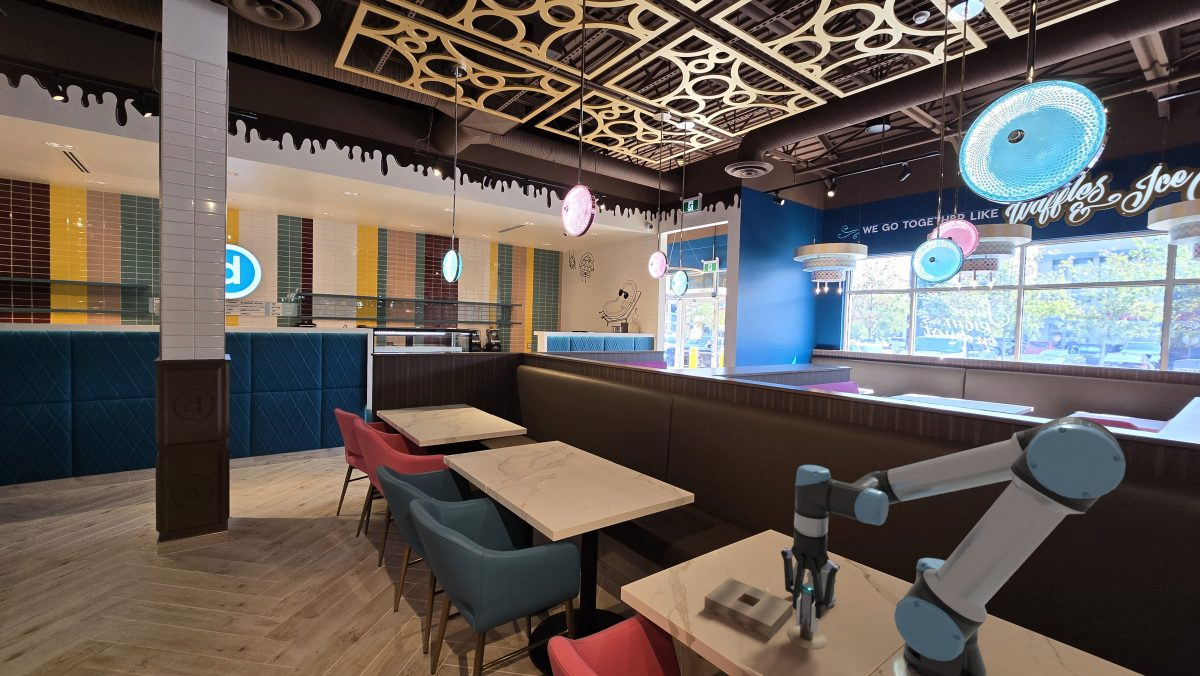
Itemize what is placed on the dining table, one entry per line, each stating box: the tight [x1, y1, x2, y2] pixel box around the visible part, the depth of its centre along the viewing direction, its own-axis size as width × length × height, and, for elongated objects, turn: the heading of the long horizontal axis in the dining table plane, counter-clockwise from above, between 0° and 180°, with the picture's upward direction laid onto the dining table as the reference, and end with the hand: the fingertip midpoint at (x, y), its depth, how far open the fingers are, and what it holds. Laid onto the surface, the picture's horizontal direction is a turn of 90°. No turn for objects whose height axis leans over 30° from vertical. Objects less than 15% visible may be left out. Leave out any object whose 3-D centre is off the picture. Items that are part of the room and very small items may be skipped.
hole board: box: [704, 577, 794, 640], centre depth 129 cm, size 18×14×4 cm
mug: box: [793, 561, 837, 608], centre depth 136 cm, size 8×12×12 cm, turn 73°
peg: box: [800, 585, 815, 641], centre depth 119 cm, size 3×3×12 cm
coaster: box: [786, 625, 828, 650], centre depth 119 cm, size 9×9×1 cm
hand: (806, 626), depth 119 cm, fingers closed on peg, 3 cm apart
